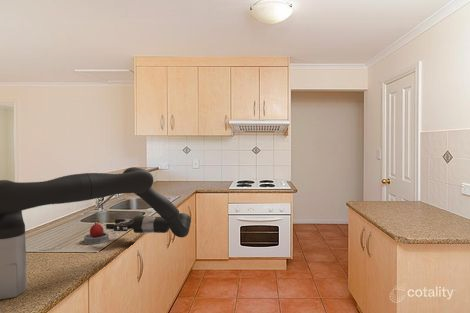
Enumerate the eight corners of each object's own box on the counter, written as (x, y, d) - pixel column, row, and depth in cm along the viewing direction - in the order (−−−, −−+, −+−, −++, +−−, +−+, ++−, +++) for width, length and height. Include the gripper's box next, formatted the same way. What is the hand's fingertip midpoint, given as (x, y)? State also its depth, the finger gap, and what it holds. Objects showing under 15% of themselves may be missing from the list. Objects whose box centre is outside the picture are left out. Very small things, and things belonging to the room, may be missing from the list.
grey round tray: (109, 242, 143) (109, 237, 143) (83, 245, 139) (83, 239, 139) (108, 236, 152) (108, 231, 152) (84, 238, 148) (84, 233, 148)
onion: (92, 237, 148) (92, 220, 148) (105, 237, 149) (105, 220, 148) (87, 241, 142) (87, 223, 142) (101, 241, 143) (101, 223, 143)
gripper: (151, 212, 150) (117, 212, 152) (139, 220, 136) (102, 219, 138) (151, 228, 151) (118, 227, 152) (140, 237, 137) (103, 236, 138)
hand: (110, 223), depth 145 cm, fingers open, 8 cm apart
